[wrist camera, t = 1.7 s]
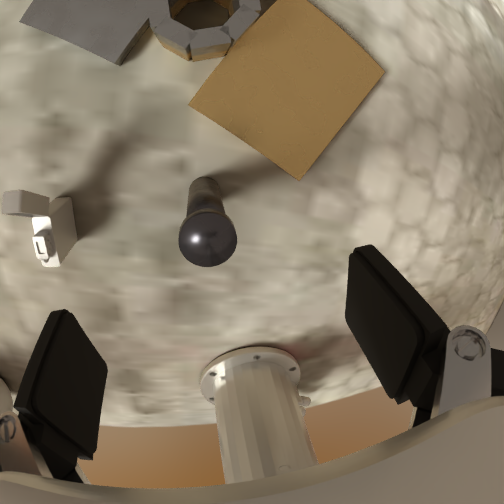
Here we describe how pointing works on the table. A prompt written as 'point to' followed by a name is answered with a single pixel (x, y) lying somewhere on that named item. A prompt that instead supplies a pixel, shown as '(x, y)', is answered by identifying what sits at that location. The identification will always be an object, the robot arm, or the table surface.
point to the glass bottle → (5, 398)
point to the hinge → (239, 65)
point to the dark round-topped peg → (206, 226)
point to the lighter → (45, 223)
